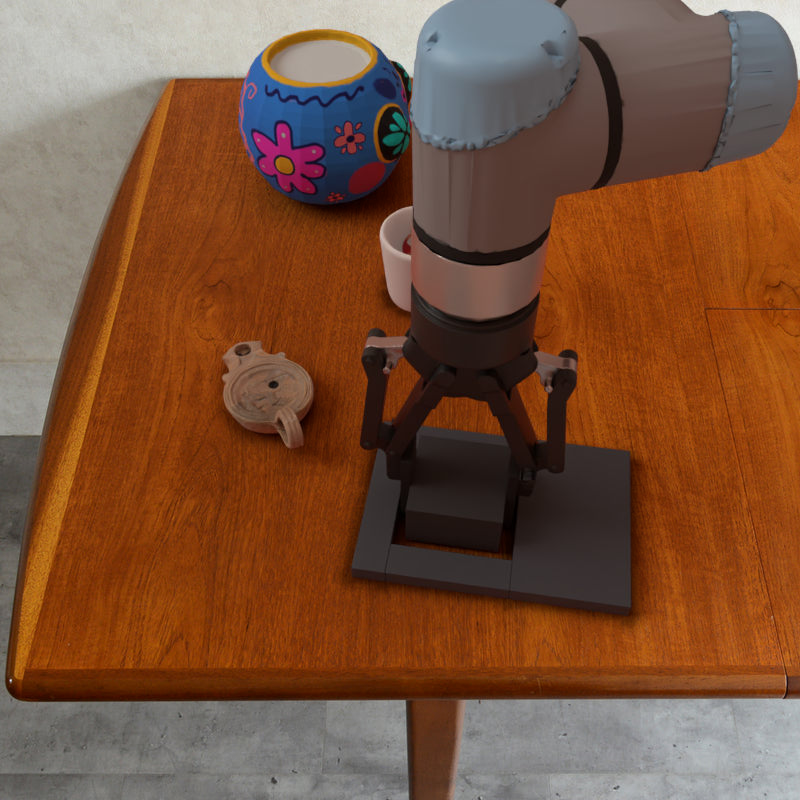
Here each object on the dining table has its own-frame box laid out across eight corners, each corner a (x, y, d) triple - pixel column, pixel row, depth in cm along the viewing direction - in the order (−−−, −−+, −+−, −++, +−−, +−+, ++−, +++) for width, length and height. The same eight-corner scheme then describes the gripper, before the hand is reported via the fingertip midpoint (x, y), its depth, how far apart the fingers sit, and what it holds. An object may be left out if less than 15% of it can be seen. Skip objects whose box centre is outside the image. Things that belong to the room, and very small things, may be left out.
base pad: (625, 465, 73) (630, 450, 72) (626, 620, 64) (631, 607, 62) (384, 435, 75) (384, 420, 74) (352, 581, 66) (350, 568, 65)
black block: (506, 477, 71) (511, 446, 68) (498, 552, 66) (503, 522, 63) (419, 465, 72) (420, 434, 69) (405, 539, 67) (405, 509, 64)
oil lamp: (208, 374, 80) (198, 335, 76) (287, 349, 82) (282, 310, 78) (254, 483, 72) (246, 445, 68) (340, 453, 74) (337, 414, 70)
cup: (481, 262, 90) (487, 196, 84) (500, 316, 85) (508, 250, 79) (375, 274, 89) (373, 208, 83) (388, 330, 83) (387, 264, 77)
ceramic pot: (409, 235, 93) (410, 104, 81) (238, 233, 93) (215, 102, 82) (411, 140, 104) (412, 13, 93) (259, 139, 104) (242, 12, 93)
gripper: (650, 256, 53) (589, 483, 70) (321, 223, 55) (340, 451, 72) (652, 346, 48) (586, 566, 65) (292, 306, 50) (320, 529, 68)
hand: (457, 505), depth 69 cm, fingers closed on black block, 7 cm apart
